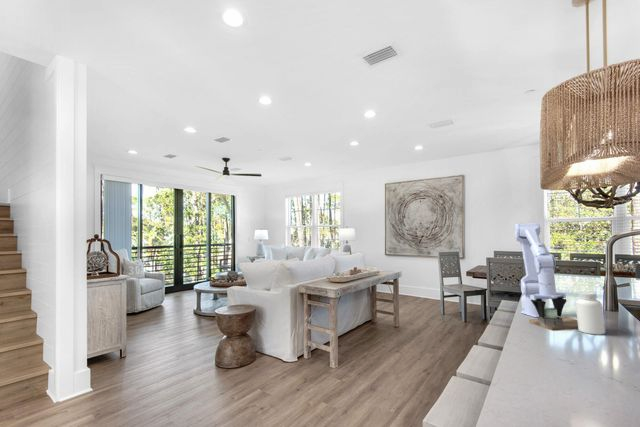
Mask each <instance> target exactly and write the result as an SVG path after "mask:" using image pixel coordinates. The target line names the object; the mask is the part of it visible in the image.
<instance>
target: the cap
mask: <svg viewBox="0 0 640 427" xmlns="http://www.w3.org/2000/svg"><path fill="white" fill-rule="evenodd" d="M544 312H545V317H544V318H545V319H553V320H554V319H558V317H559V316H558V317H557V309H555V308H554V307H548V306H547V307H546V306H545V308H544Z"/></svg>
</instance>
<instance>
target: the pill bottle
mask: <svg viewBox="0 0 640 427" xmlns="http://www.w3.org/2000/svg"><path fill="white" fill-rule="evenodd" d="M575 311H576V320H577V322H578V328H577V329H578V331H579V332H581V333H583V334H589V335H604V334H606V327H605V319H604V311H603V305H602V303H601V301H599V300H598V299H597V293H596V292H591V291H579V292H578V299H576V300H575Z"/></svg>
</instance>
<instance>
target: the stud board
mask: <svg viewBox="0 0 640 427" xmlns="http://www.w3.org/2000/svg"><path fill="white" fill-rule="evenodd" d="M557 317H558V319H554V320H553V319H545V318H542V317H537V318H535V319H534V318H533V319H529V320H528V321H529V323H530V324H532V325H536V326H538V327H541V328H545V329H547V330H549V331H550V330H551V331H562V330H563V331H564V330H574V329H578V322H577V318H576V319H575V318H572V317H569V316H562V317H561V316H557Z"/></svg>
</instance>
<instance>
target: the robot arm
mask: <svg viewBox="0 0 640 427" xmlns="http://www.w3.org/2000/svg"><path fill="white" fill-rule="evenodd" d="M513 229H514V230H513V231H514V236H515V240H516V241H517V242H518V243H520V246H521V250H522V257H523V263H524V269H525V270H524V271H525V275H524V276H523V277H521V279H520V292H521V294H522V296H521V298H520V303H521V311H520V313H521V314H525V315H527V316H530V317H533V318H538V317H542V318H544V317H545V312H544V308H545V307H546V301H545V300H551V301H552V304H553V308H555V309H557V316H558V317H561V316H562V313H563V309H564V306H565V304H566V303H567V299H566V298H567V297H566V296H567V295H566V293H564V292H557V288H556V278H555V269H556V268H557V267H556V264H557V263H556V261H557V260H556V258H555V256H554V255H553V254H552V253H549V251H548V248H547V247H546V244H544V243H542V242H541V240H540V234H541V226H540V223H538V222H527V223H518V222H517V223H515V224H514V228H513Z"/></svg>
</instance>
